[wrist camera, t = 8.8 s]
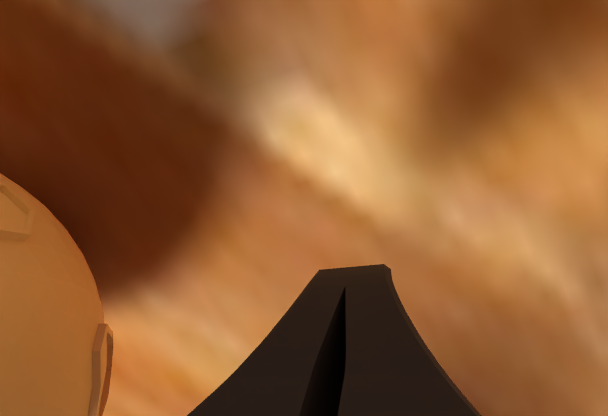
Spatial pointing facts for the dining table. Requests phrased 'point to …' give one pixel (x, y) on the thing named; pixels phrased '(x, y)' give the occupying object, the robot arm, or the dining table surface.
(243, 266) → the dining table surface
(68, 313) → the stress ball
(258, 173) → the dining table surface
